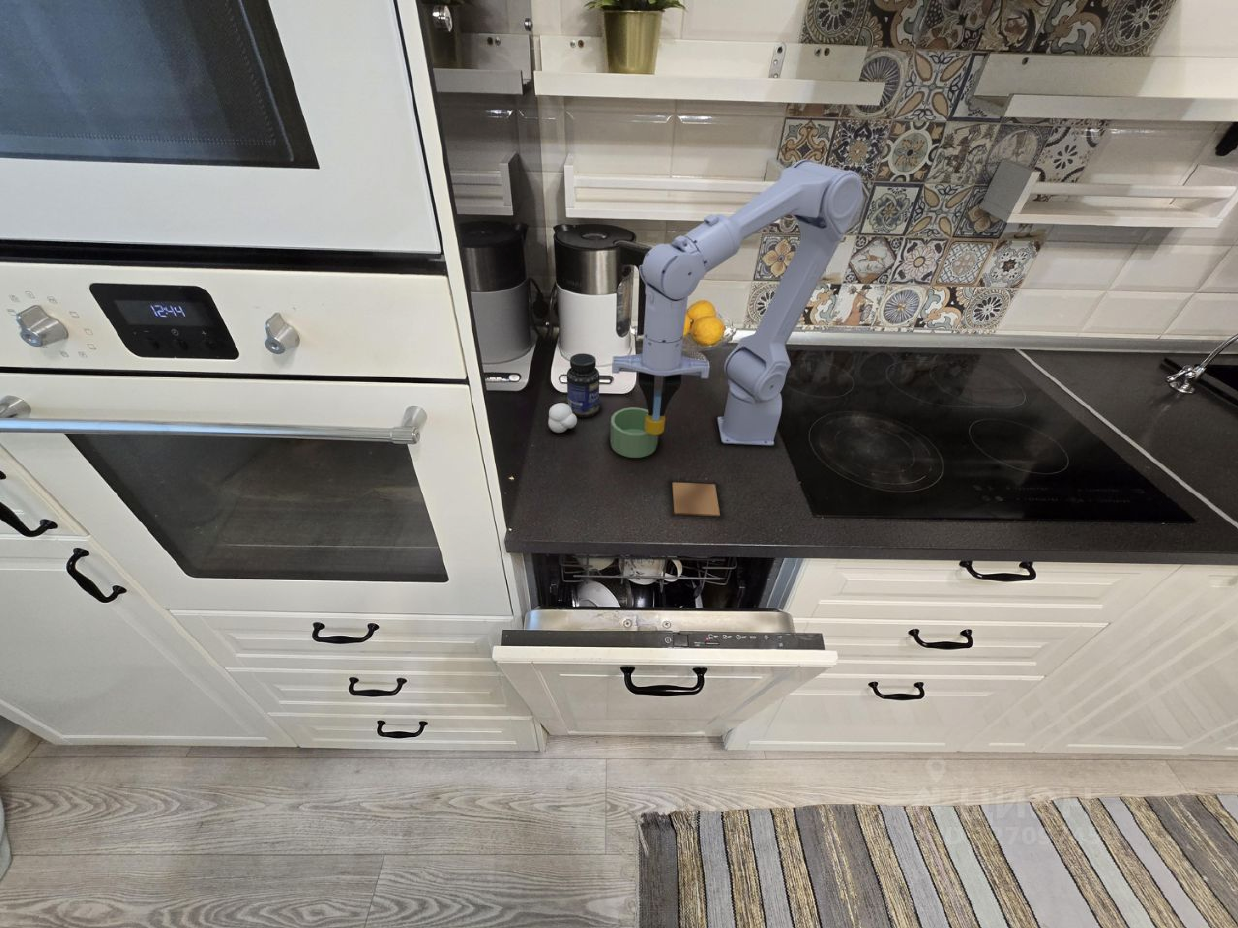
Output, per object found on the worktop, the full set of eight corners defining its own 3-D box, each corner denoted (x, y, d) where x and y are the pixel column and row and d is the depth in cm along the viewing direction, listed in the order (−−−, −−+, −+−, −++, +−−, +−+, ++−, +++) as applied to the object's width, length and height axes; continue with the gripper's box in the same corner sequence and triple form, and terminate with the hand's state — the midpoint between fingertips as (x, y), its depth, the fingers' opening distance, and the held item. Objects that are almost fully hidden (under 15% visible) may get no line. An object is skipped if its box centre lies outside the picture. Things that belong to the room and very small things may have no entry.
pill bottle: (594, 420, 98) (595, 369, 90) (563, 416, 98) (561, 365, 91) (602, 403, 102) (602, 353, 95) (572, 399, 103) (571, 349, 96)
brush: (663, 424, 86) (667, 388, 82) (664, 435, 84) (668, 399, 79) (644, 423, 86) (647, 387, 82) (644, 434, 84) (647, 398, 79)
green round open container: (656, 430, 96) (658, 408, 92) (657, 459, 89) (659, 436, 86) (611, 428, 96) (612, 406, 93) (609, 456, 89) (610, 433, 86)
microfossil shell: (553, 421, 97) (551, 396, 93) (580, 425, 96) (580, 400, 93) (546, 435, 93) (544, 410, 90) (574, 439, 93) (574, 414, 89)
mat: (714, 486, 84) (715, 484, 84) (719, 516, 79) (719, 514, 79) (672, 484, 84) (672, 482, 84) (674, 514, 79) (674, 512, 79)
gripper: (711, 324, 77) (699, 401, 86) (614, 320, 77) (612, 396, 86) (715, 346, 72) (702, 425, 80) (612, 341, 72) (610, 420, 81)
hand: (656, 412), depth 83 cm, fingers closed on brush
